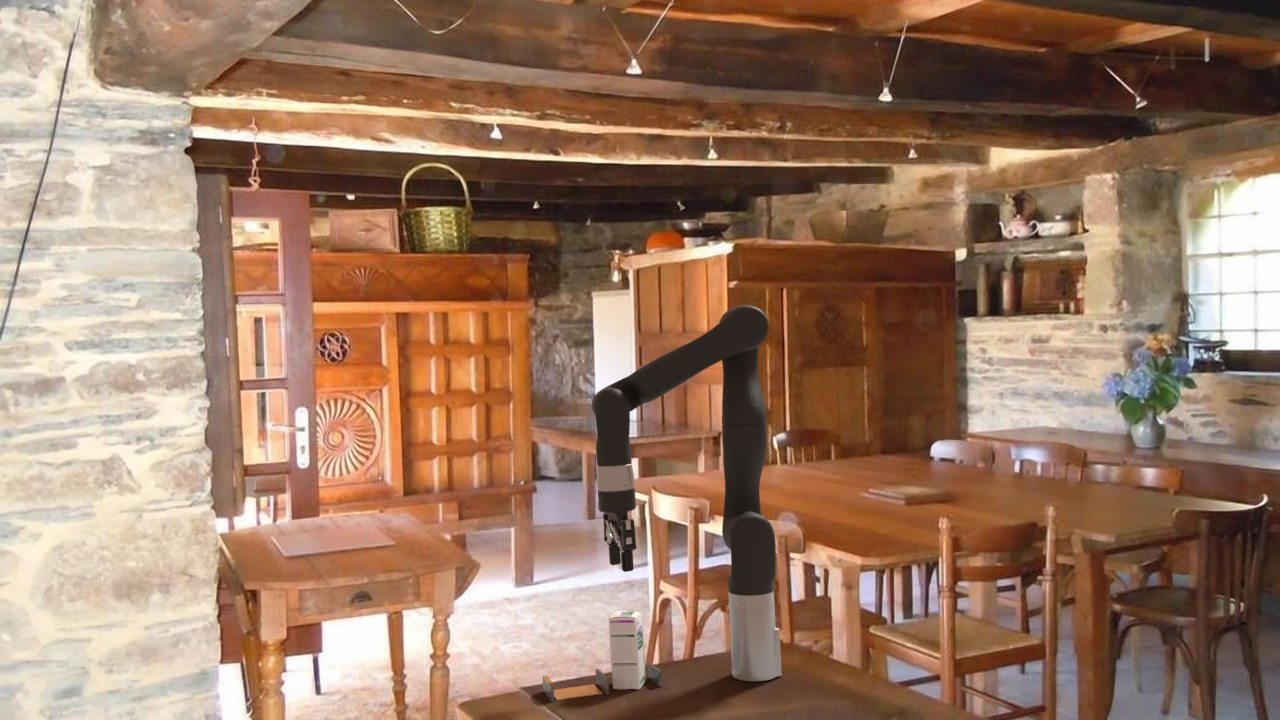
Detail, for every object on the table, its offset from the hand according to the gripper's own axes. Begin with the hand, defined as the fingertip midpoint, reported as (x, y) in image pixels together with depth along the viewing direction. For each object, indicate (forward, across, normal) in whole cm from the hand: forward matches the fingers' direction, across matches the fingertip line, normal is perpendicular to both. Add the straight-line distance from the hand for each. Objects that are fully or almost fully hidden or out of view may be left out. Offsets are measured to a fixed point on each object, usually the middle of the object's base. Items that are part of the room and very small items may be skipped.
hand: (621, 567), depth 216 cm
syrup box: (+24, 0, 0) cm, 24 cm away
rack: (+24, 0, +6) cm, 24 cm away
